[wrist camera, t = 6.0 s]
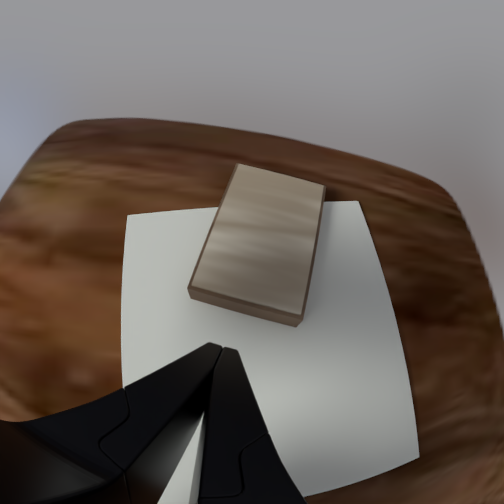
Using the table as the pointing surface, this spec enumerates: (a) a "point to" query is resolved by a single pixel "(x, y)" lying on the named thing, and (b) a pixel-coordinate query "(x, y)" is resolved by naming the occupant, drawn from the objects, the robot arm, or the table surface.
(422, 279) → the table surface
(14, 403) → the table surface
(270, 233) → the tile
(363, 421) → the mat
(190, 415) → the robot arm
